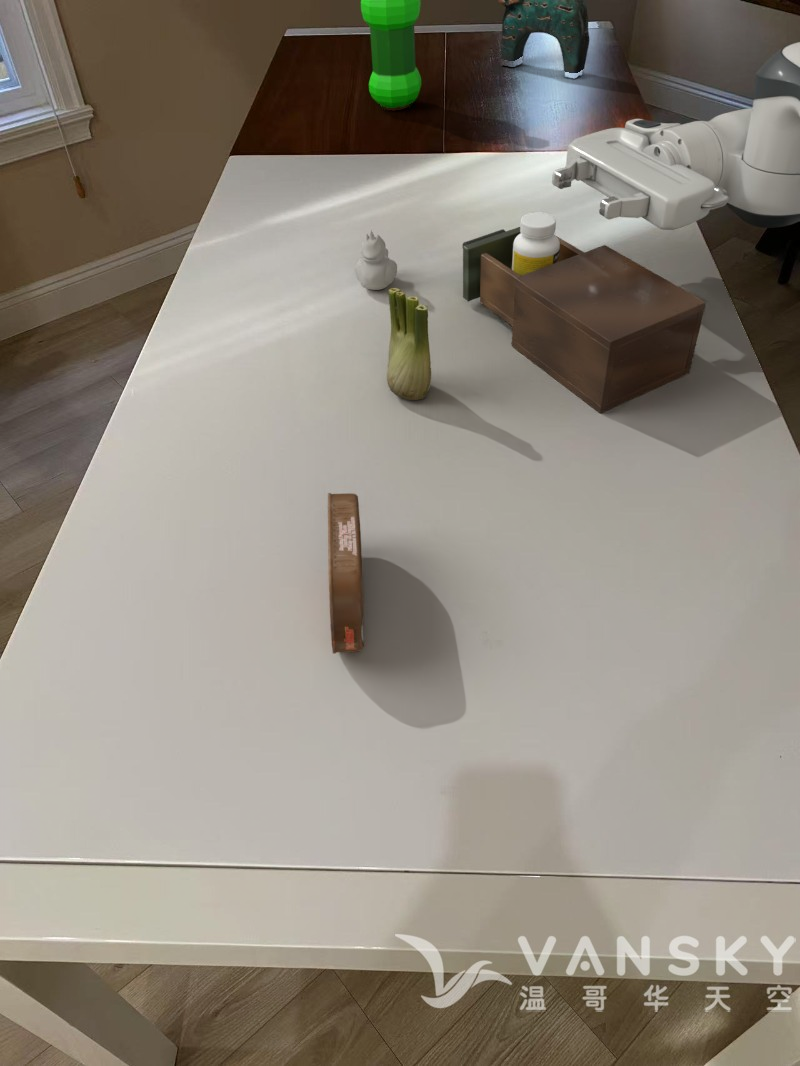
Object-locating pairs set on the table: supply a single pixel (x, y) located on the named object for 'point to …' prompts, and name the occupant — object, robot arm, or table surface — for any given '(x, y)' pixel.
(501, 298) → the drawer
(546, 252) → the supplement bottle
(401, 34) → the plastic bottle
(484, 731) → the table surface
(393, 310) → the fennel bulb
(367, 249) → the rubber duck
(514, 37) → the ceramic cat
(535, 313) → the cabinet
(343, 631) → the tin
